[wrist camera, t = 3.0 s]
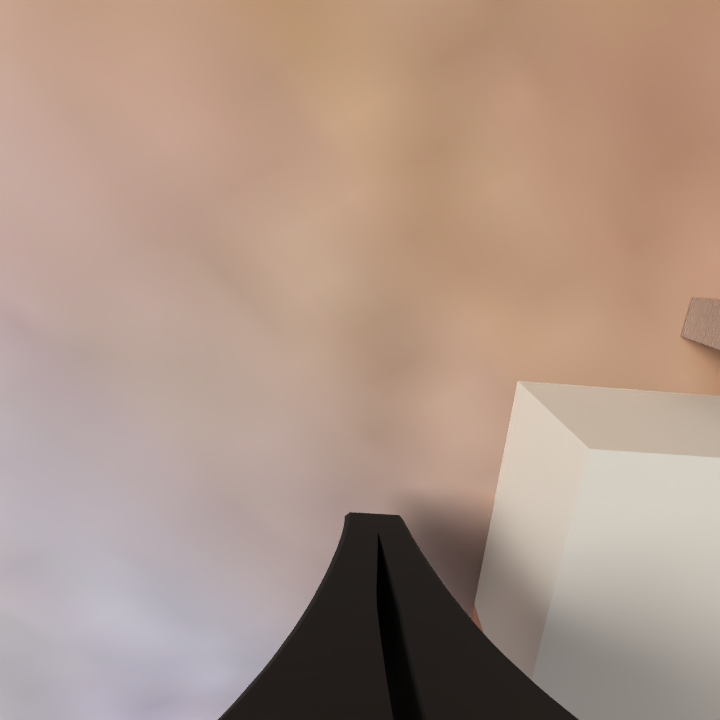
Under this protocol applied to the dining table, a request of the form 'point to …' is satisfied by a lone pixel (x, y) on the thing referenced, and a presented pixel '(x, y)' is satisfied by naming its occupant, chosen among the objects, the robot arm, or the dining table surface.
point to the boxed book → (609, 551)
